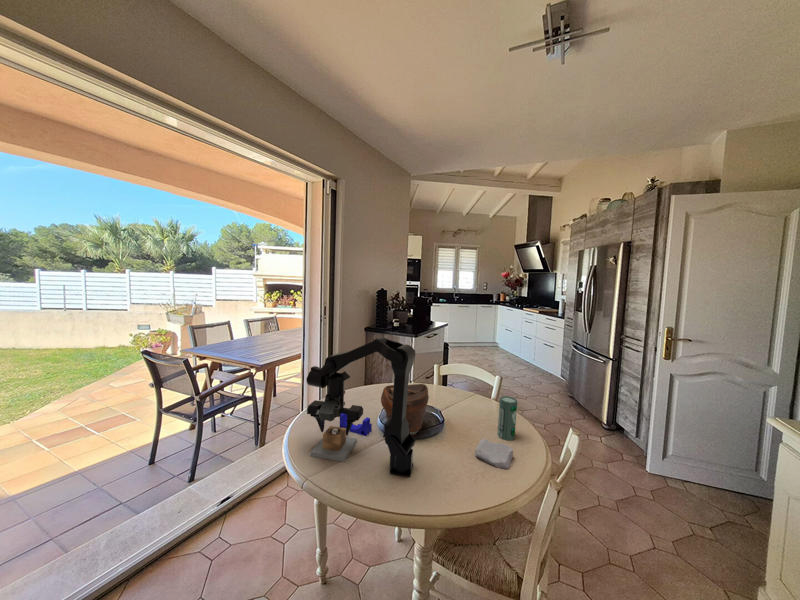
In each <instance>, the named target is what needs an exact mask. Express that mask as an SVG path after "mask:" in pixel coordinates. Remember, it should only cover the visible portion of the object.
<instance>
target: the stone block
mask: <svg viewBox="0 0 800 600" xmlns="http://www.w3.org/2000/svg"><path fill="white" fill-rule="evenodd" d="M474 454H475V457H477V458H479V459H480V460H482V461H484V462H486V463H487V464H489V465H492V466H494V467H496V468H497V469H505V470H508V469H509V468H510V467H511V464H512V460H513V455H514V449H513V448H512V447H511V446H509V445H508V444H505V443H500V442H499V443H498V442H497V443H495V442H492V441H489V439H486V438H483V439H481V440H479V443H478V444H477V446H476V448H475V452H474Z"/></svg>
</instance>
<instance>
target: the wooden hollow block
mask: <svg viewBox="0 0 800 600" xmlns="http://www.w3.org/2000/svg"><path fill="white" fill-rule="evenodd" d="M334 428H337V429H338V434H332V429H334ZM346 437H347V436H346V428H341V427H340V426H335V425H330V426H329V427H328V428H327V429H326V431H325V432H323V434H322V438H323V449H329V450H335V451H340V449H341V448H342V446H343V445H344V444H345V442H346Z"/></svg>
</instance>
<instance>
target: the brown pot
mask: <svg viewBox="0 0 800 600" xmlns="http://www.w3.org/2000/svg"><path fill="white" fill-rule="evenodd" d="M393 389H394V384H390V385H385V387H383V389H382V393H381V396H380V402H381V407H383V409H384V410H385V415H386V419H387V420H386V423H387V422H388V421H389V419H390V418H391V417H392V403H393ZM429 399H430V396H429V388H428V386H427V385H426V384H424V383H418V384H417V383H415V384H408V394H407V407H406V419H407V421H408V425H409V432H415V431H418V430H420V429H421V430H422V426H423V422H424V418H425V413H426V410H427V406H428V402H429ZM421 430H420V431H421ZM411 435H412V436H413V437H414V436H415V435H417V434H415V435H414V434H411Z"/></svg>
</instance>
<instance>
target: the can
mask: <svg viewBox="0 0 800 600" xmlns="http://www.w3.org/2000/svg"><path fill="white" fill-rule="evenodd" d="M498 406H499V407H498V419H497V420H498V421H497V423H498V424H497V436H498V438H500V439H501V440H504V441H514V439H515V438H516V436H515V435H516V423H517V410H518V409H517V408H518V400H517V399H516V398H515V397H512V396H508V395H505V396H500V398H499V405H498Z"/></svg>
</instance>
